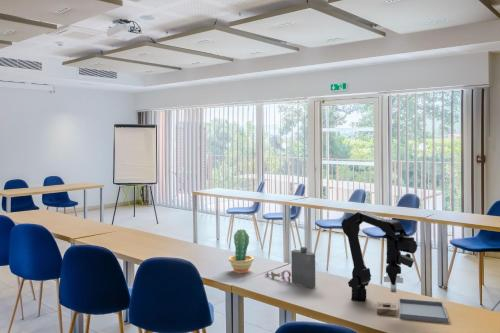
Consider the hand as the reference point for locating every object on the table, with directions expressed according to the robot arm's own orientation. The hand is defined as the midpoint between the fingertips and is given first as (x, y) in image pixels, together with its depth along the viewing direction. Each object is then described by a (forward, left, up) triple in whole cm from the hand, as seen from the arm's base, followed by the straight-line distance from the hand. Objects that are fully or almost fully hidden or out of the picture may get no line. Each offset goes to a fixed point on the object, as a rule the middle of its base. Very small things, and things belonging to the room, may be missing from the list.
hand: (393, 283), depth 193 cm
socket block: (-3, 0, -13) cm, 13 cm away
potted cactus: (-86, +43, -13) cm, 97 cm away
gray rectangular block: (0, 0, -4) cm, 4 cm away
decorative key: (-62, +33, -13) cm, 71 cm away
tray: (+12, +3, -13) cm, 18 cm away
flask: (-45, +28, -13) cm, 55 cm away
